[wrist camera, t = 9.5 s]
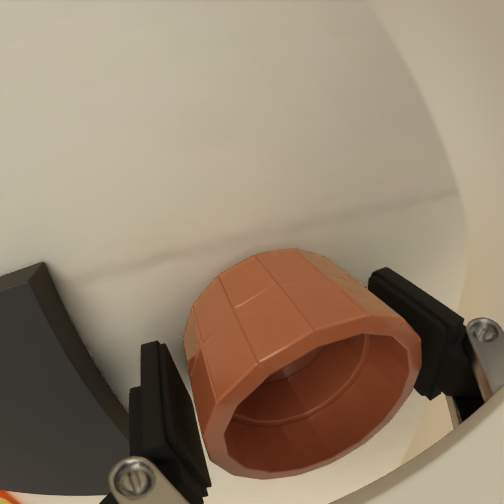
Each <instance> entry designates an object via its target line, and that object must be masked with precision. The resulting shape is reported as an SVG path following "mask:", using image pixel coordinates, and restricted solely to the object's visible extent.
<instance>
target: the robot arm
mask: <svg viewBox="0 0 504 504" xmlns="http://www.w3.org/2000/svg"><path fill="white" fill-rule="evenodd" d="M368 290H369V291H370V292H372V293H373V294H374V295H375V296H377V297H378V298H379V299H380V300H382V301H383V302H384V303H385V304H387V305H388V306H389V307H390V308H392V309H393V310H394V311H395V312H397V313H398V314H399V315H400V316H402V317H403V318H404V319H405V320H406V321H407V322H408V323H409V325H410V326H411V327H412V328H413V329H414V330H415V331H416V332H417V334H418V335H419V336H420V338H421V349H422V366H421V369H420V372H419V374H418V377H417V380H416V382H415V385H414V387H413V388H414V389H415V390H416V391H417V392H418V393H419V394H420V395H422V396H426V397H427V398H428V399H429V400H430V401H431V400H432V399H434V398H435V397H437V396H438V395H439V394H441V392H443V393H444V394H445V395H446V400H447V404H448V407H449V411H450V415H451V419H452V424H453V428H454V430H452V431H451V432H450V433H448V434H447V435H446V436H444V437H443V438H442V439H441V440H439V441H438V442H436V443H435V444H434V445H432V446H431V447H429V448H428V449H426V450H425V451H423V452H422V453H421V454H419V455H418V456H416V457H415V458H413V459H411V460H410V461H408V462H407V463H405V464H403V465H402V466H400V467H399V468H397V469H395V470H394V471H392V472H390V473H388V474H387V475H385V476H383V477H381V478H380V479H378V480H376V481H374V482H372V483H370V484H369V485H367V486H365V487H363V488H361V489H359V490H357V491H355V492H353V493H351V494H349V495H347V496H344V497H342V498H340V499H338V500H336V501H334V502H331V503H329V504H504V332H503V330H502V328H501V327H500V326H499V325H498V323H496V322H495V321H493V320H491V319H488V318H475V319H473V320H471V321H470V322H469V323H468V324H467V326H464V325H463V322H464V318H462V317H461V316H459V315H458V314H456V313H455V312H454V311H452V310H451V309H449V308H448V307H446V306H445V305H444V304H442V303H441V302H439V301H438V300H436V299H435V298H433V297H432V296H430V295H429V294H427V293H426V292H424V291H423V290H422V289H420V288H419V287H417V286H416V285H414V284H412V283H411V282H409V281H408V280H406V279H405V278H403V277H402V276H400V275H399V274H397V273H396V272H394V271H393V270H391V269H389V268H387V267H384V268H382V269H379V270H377V271H374V272H373V273H372V274H371V277H370V278H369V281H368ZM129 446H130V457H127V458H125V459H122V460H120V461H119V462H118V463H116V464H115V465H114V466H113V468H112V469H111V471H110V473H109V476H108V485H109V488H110V490H111V492H110V493H109V494H108V495H107V496H106V497H105V498H104V499H103V500H102V501H101V502H100V503H99V504H204V501H203V498H202V497H206V496H208V492H207V489H206V488H207V487H211V486H212V485H211V480H210V476H209V473H208V469H207V465H206V461H205V457H204V452H203V448H202V444H201V440H200V435H199V431H198V426H197V421H196V417H195V412H194V407H193V403H192V400H191V397H190V395H189V393H188V391H187V389H186V387H185V385H184V383H183V381H182V379H181V376H180V374H179V372H178V370H177V368H176V366H175V363H174V361H173V359H172V357H171V354H170V352H169V350H168V348H167V345H166V344H165V343H164V344H160V343H159V342H158V341H154V342H150V343H146V344H142V345H141V386H139V387H134V388H131V389H130V393H129Z"/></svg>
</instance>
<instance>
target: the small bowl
mask: <svg viewBox="0 0 504 504" xmlns="http://www.w3.org/2000/svg"><path fill="white" fill-rule="evenodd" d="M183 337H184V341H183V342H184V348H185V354H186V359H187V365H188V370H189V376H190V381H191V387H192V392H193V397H194V402H195V406H196V411H197V416H198V420H199V425H200V429H201V434H202V438H203V441H204V444H205V447H206V450H207V453H208V456H209V459H210V461H212V462H213V463H214V464H216V465H217V466H219V467H220V468H222V469H224V470H225V471H227V472H228V473H230V474H232V475H234V476H240V477H246V478H253V479H261V480H263V479H265V480H267V479H275V478H283V477H290V476H296V475H300V474H303V473H306V472H309V471H312V470H315V469H318V468H320V467H323V466H326V465H328V464H331V463H332V462H335V461H336V460H338V459H340V458H342V457H343V456H345V455H347V454H349V453H350V452H352V451H354V450H355V449H357V448H358V447H360V446H362V445H363V444H365V443H366V442H367V441H368V440H369V439H371V438H372V437H373V436H374V435H375V434H376V433H377V432H379V431H380V430H381V429H382V428H383V427H384V426H385V425H386V424H387V423H389V422H390V420H391V419H392V418H393V417H394V416H395V414H396V413H397V412H398V410H399V409H400V408H401V406H402V405H403V404H404V402H405V401H406V399H407V398H408V397H409V395H410V394H411V392H412V390H413V387H414V385H415V382H416V380H417V377H418V374H419V372H420V369H421V366H422V349H421V338H420V336H419V335H418V334H417V332H416V331H415V330H414V329H413V328H412V327H411V326H410V325H409V323H408V322H407V321H406V320H405V319H404V318H403V317H402V316H400V315H399V314H398V313H397V312H395V311H394V310H393V309H392V308H390V307H389V306H388V305H387V304H385V303H384V302H383V301H382V300H380V299H379V298H378V297H377V296H375V295H374V294H373V293H372V292H370V291H369V290H368V289H367V288H365V287H364V286H363V285H361V284H360V283H359V282H358V281H356V280H355V279H354V278H352V277H351V276H350V275H349V274H347V273H346V272H345V271H343V270H342V269H341V268H340V267H338V266H337V265H336V264H334V263H333V262H332V261H330V260H329V259H328V258H326V257H325V256H321V255H317V254H314V253H310V252H306V251H303V250H299V249H286V250H280V251H273V252H267V253H260V254H256V255H255V256H251V257H249V258H248V259H246V260H244V261H242V262H240V263H239V264H237V265H235V266H233V267H232V268H230V269H228V270H226V271H224V272H223V273H221V274H220V275H219V277H216V278H215V279H214V281H213V282H212V283H211V284H210V285H209V287H208V288H207V289H206V290H205V291H204V292H203V294H202V295H201V296H200V297H199V298H198V300H197V301H196V302H195V303H194V306H193V307H192V308H191V312H190V315H189V319H188V322H187V326H186V329H185V333H184V336H183Z"/></svg>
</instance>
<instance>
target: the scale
mask: <svg viewBox="0 0 504 504" xmlns="http://www.w3.org/2000/svg"><path fill="white" fill-rule="evenodd" d="M127 457H130V446H129V415H128V414H127V413H126V411H125V410H124V408H123V407H122V406H121V404H120V403H119V401H118V400H117V398H116V397H115V395H114V394H113V392H112V391H111V389H110V388H109V386H108V385H107V383H106V382H105V380H104V378H103V377H102V375H101V374H100V372H99V370H98V369H97V367H96V366H95V364H94V362H93V360H92V359H91V357H90V355H89V354H88V352H87V350H86V348H85V347H84V345H83V343H82V341H81V339H80V338H79V336H78V334H77V332H76V330H75V328H74V326H73V324H72V322H71V320H70V318H69V316H68V314H67V312H66V310H65V308H64V306H63V304H62V302H61V300H60V298H59V296H58V293H57V291H56V289H55V287H54V285H53V282H52V280H51V278H50V275H49V273H48V271H47V268H46V266H45V263H44V262H41V263H38V264H35V265H32V266H29V267H27V268H24V269H21V270H18V271H15V272H12V273H10V274H7V275H4V276H1V277H0V490H5V491H12V492H21V493H30V494H42V495H64V496H92V495H108V494H109V493H110V492H111V490H110V488H109V485H108V476H109V473H110V471H111V469H112V468H113V466H114V465H115V464H116V463H118V462H119V461H120V460H122V459H125V458H127Z"/></svg>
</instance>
